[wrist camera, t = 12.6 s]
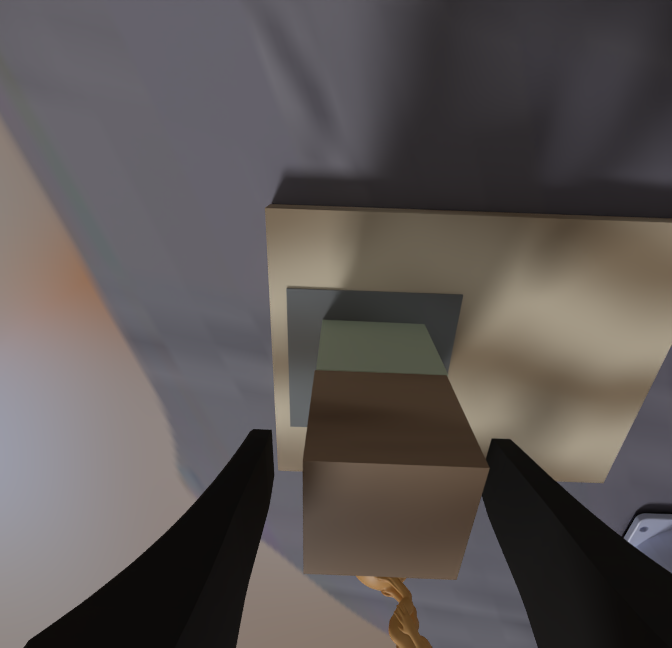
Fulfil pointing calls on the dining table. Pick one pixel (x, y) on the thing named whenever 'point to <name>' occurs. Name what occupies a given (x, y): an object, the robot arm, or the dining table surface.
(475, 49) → the dining table surface
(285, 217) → the baseplate
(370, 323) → the sage block
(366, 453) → the walnut block
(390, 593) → the figurine
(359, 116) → the dining table surface
